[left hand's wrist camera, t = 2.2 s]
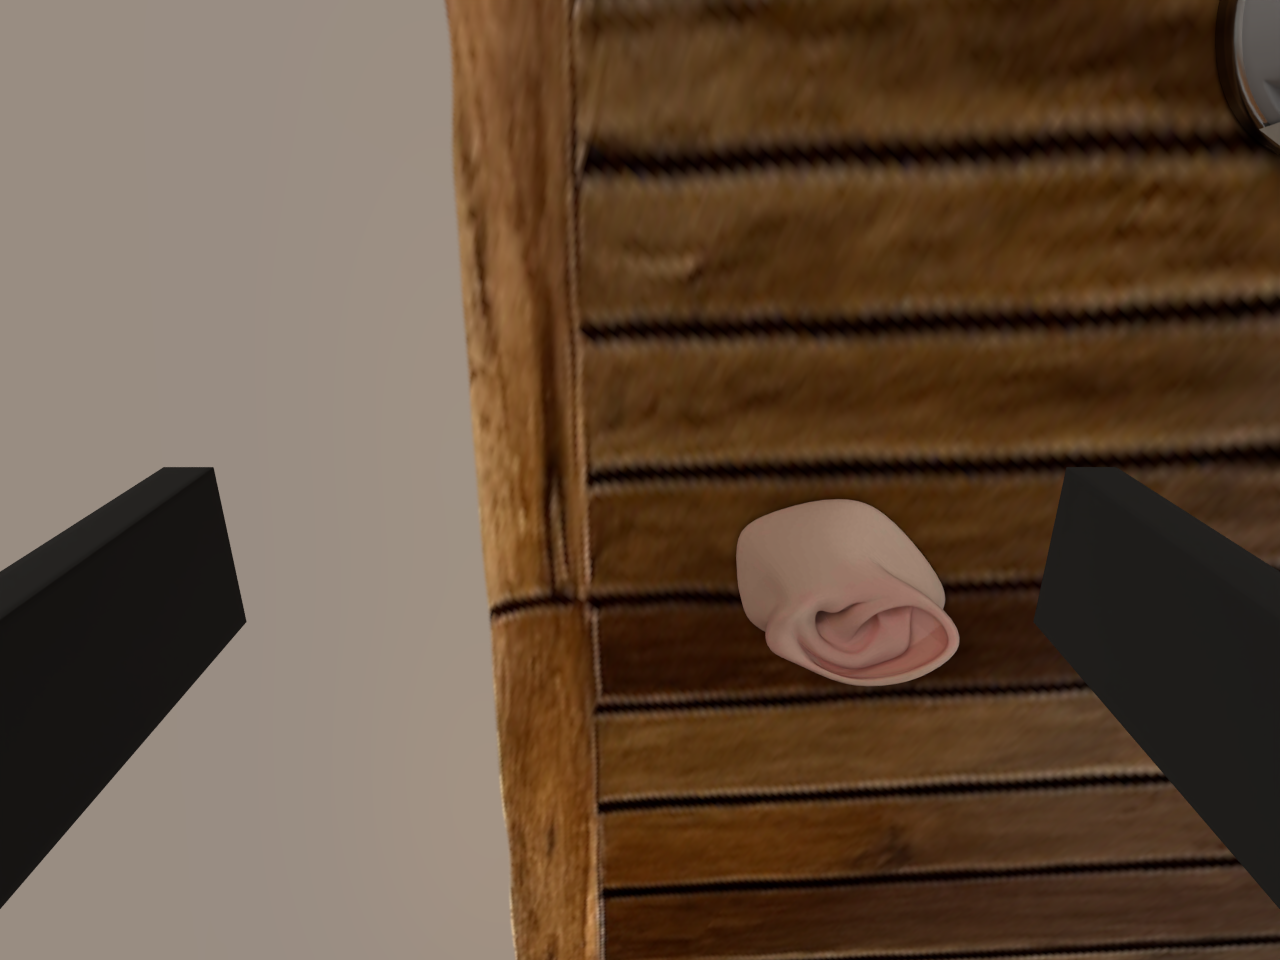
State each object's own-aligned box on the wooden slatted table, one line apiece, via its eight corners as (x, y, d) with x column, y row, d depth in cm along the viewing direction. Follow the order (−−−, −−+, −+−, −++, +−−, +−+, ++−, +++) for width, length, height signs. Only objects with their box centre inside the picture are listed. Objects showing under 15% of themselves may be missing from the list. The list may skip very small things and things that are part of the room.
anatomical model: (707, 579, 45) (889, 480, 43) (702, 548, 49) (869, 455, 47) (814, 738, 50) (986, 655, 47) (802, 698, 53) (961, 619, 51)
